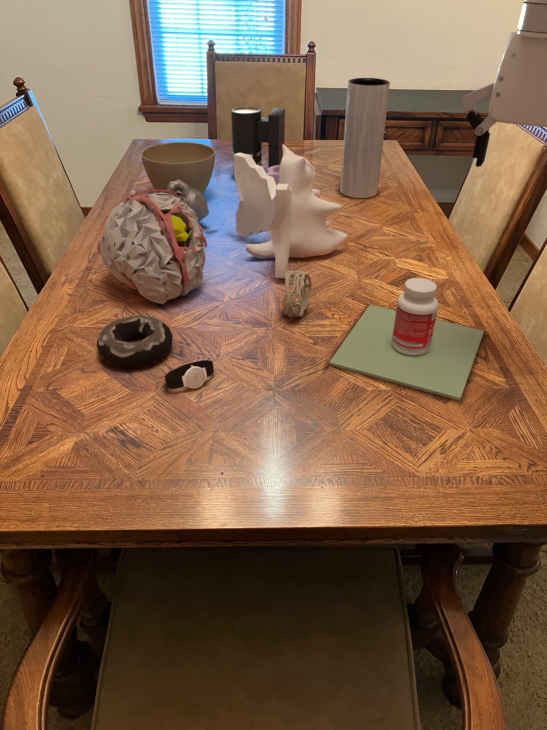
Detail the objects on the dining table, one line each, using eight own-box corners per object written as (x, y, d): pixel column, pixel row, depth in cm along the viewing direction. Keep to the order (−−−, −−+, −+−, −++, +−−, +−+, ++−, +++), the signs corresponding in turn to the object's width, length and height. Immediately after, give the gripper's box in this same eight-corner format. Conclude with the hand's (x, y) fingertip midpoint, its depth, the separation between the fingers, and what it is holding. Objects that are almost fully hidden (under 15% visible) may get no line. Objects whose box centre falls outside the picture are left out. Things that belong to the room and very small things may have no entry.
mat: (483, 333, 96) (484, 330, 96) (459, 401, 82) (460, 398, 81) (369, 307, 103) (369, 304, 103) (328, 365, 89) (329, 362, 88)
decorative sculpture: (128, 336, 109) (156, 292, 92) (70, 244, 109) (87, 184, 92) (205, 298, 119) (243, 252, 102) (151, 214, 119) (180, 155, 102)
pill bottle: (432, 358, 89) (444, 295, 83) (392, 355, 90) (401, 293, 83) (427, 336, 94) (439, 276, 88) (389, 334, 95) (398, 274, 88)
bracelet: (279, 323, 99) (279, 282, 94) (289, 301, 105) (290, 261, 100) (302, 326, 98) (303, 285, 93) (311, 304, 104) (313, 264, 99)
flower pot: (133, 206, 144) (126, 157, 137) (170, 184, 158) (165, 139, 151) (196, 216, 139) (192, 166, 132) (229, 193, 152) (227, 146, 145)
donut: (176, 367, 88) (174, 346, 86) (97, 377, 86) (92, 355, 84) (171, 328, 97) (169, 307, 95) (100, 336, 95) (95, 315, 93)
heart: (216, 233, 130) (211, 177, 124) (175, 238, 127) (168, 182, 122) (206, 224, 138) (200, 173, 133) (167, 229, 136) (160, 176, 130)
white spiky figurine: (365, 268, 116) (377, 161, 104) (268, 287, 109) (268, 175, 97) (312, 225, 135) (316, 130, 122) (226, 238, 128) (221, 140, 116)
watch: (174, 399, 82) (172, 378, 80) (159, 383, 85) (156, 362, 83) (220, 380, 85) (219, 360, 83) (204, 365, 89) (203, 345, 86)
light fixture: (237, 171, 168) (235, 105, 158) (284, 173, 166) (285, 107, 156) (229, 181, 160) (227, 113, 150) (278, 184, 158) (278, 115, 148)
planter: (337, 197, 150) (345, 84, 135) (342, 184, 158) (350, 76, 143) (376, 200, 149) (388, 86, 133) (378, 187, 157) (391, 78, 141)
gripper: (634, 22, 67) (587, 170, 77) (482, 16, 73) (457, 153, 83) (636, 28, 61) (585, 186, 71) (471, 20, 68) (445, 167, 77)
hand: (516, 168), depth 77 cm, fingers open, 9 cm apart
